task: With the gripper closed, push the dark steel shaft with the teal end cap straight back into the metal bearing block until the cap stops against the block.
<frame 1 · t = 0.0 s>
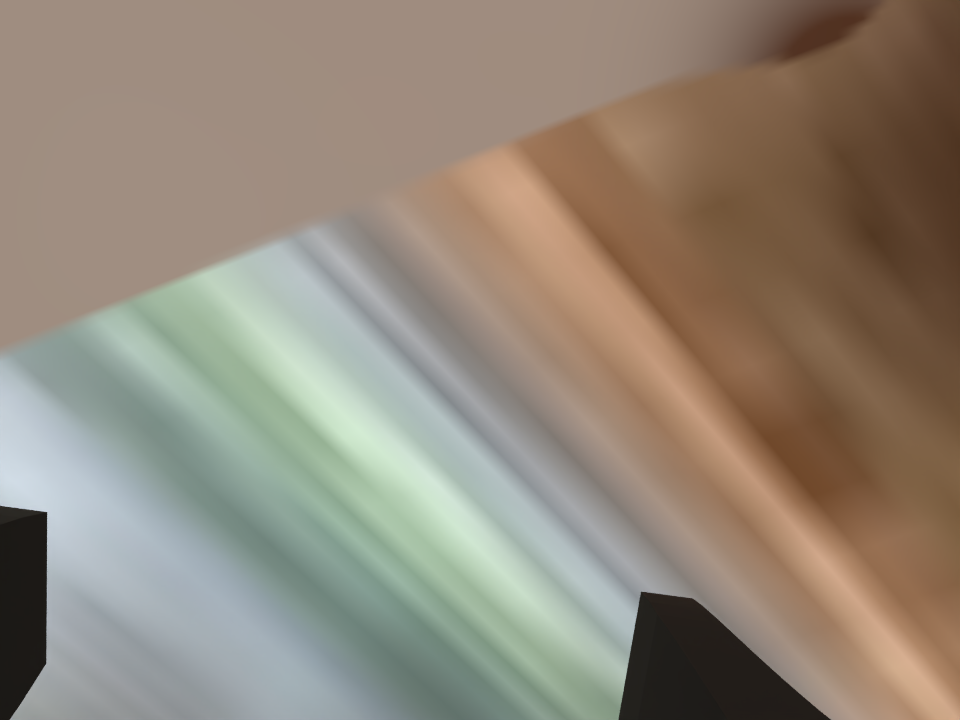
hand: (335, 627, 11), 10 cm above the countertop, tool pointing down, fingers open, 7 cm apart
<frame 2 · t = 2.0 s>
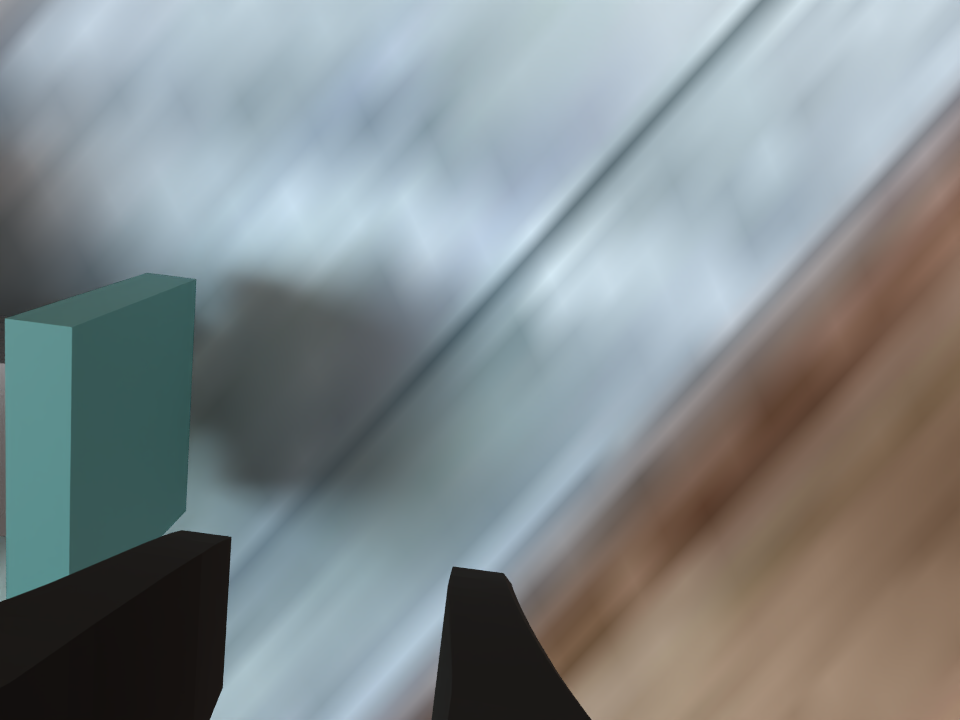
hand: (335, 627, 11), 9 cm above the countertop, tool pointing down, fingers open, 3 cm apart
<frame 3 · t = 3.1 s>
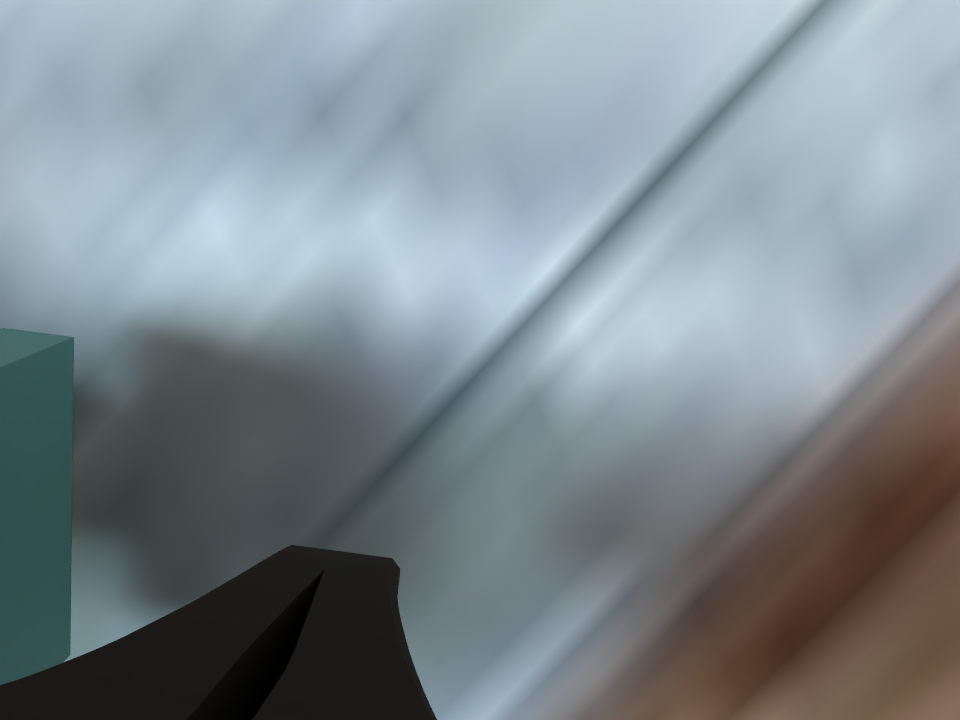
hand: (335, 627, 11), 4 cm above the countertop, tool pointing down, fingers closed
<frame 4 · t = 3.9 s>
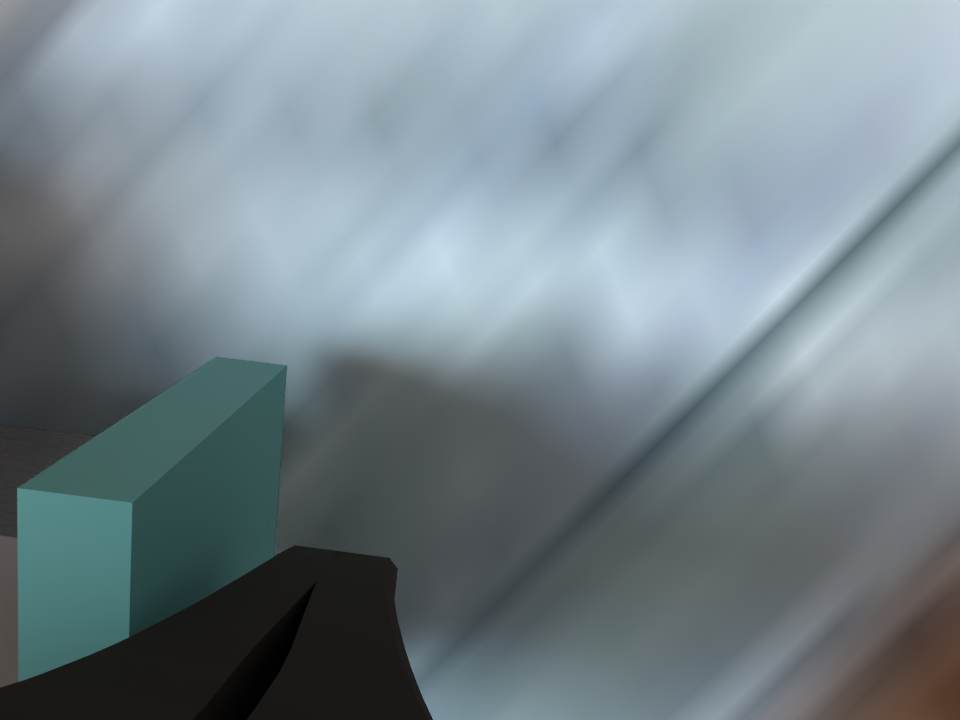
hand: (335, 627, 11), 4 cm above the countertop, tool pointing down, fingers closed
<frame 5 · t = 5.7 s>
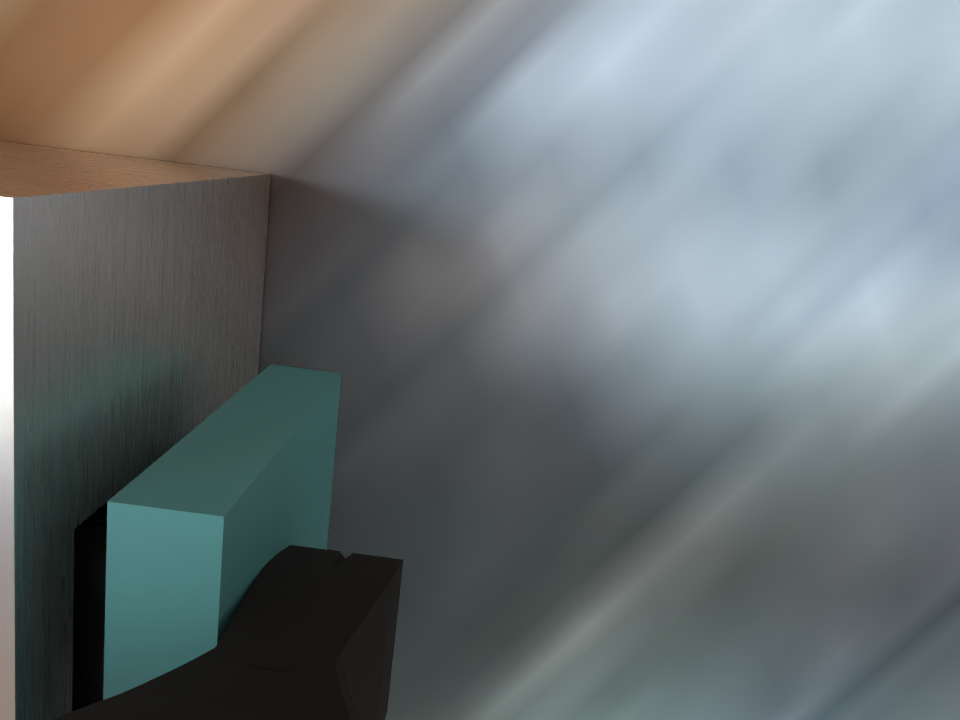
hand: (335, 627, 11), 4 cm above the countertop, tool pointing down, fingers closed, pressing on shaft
bearing block: (39, 459, 15), on the countertop
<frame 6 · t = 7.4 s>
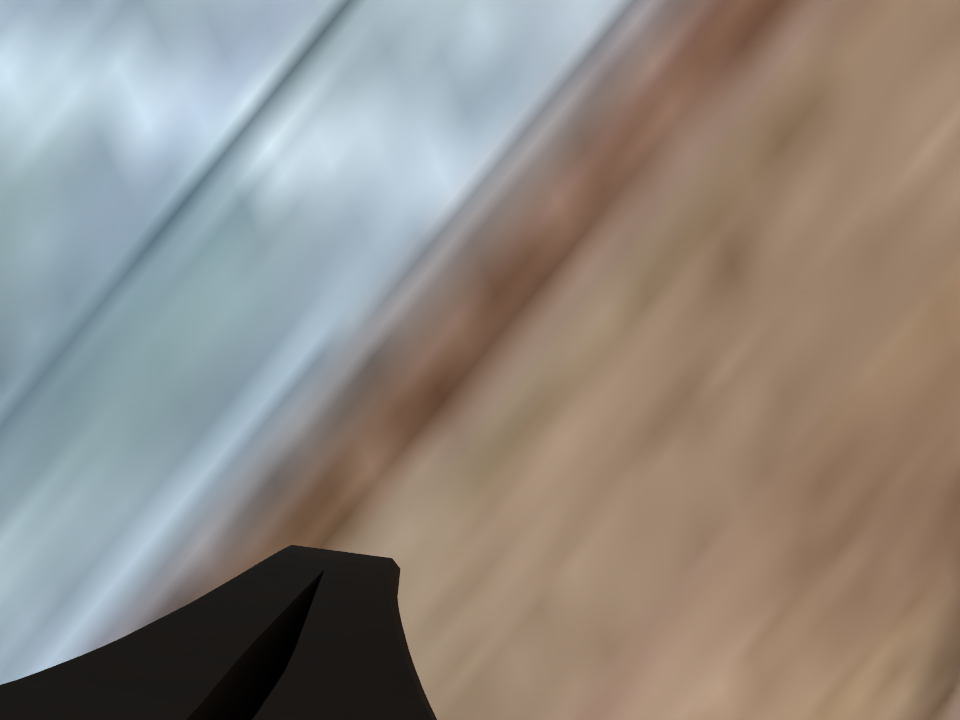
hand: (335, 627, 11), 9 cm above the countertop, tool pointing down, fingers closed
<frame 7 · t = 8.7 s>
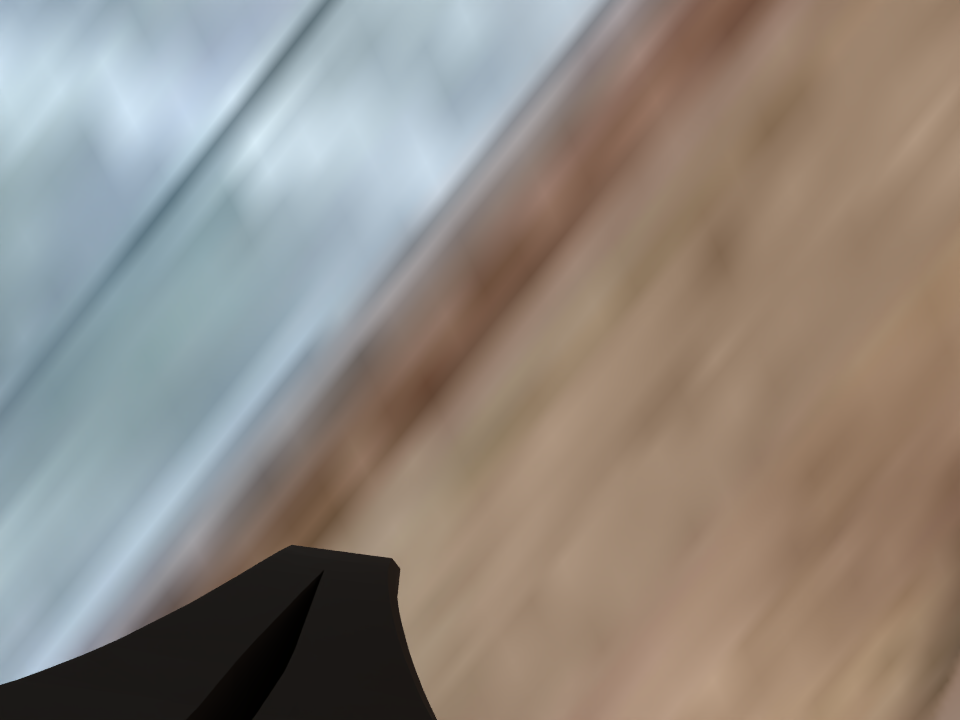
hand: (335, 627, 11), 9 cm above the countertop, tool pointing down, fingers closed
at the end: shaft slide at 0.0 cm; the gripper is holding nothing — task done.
